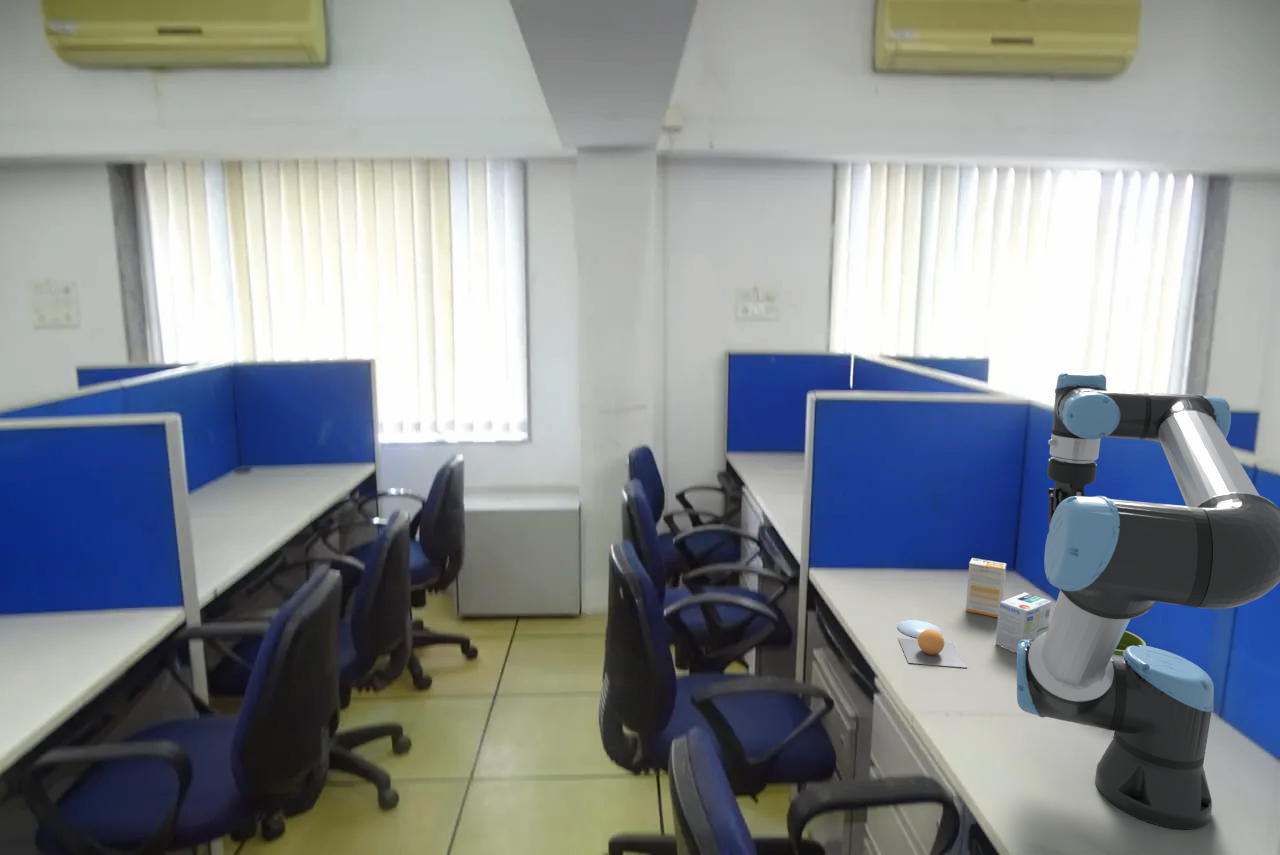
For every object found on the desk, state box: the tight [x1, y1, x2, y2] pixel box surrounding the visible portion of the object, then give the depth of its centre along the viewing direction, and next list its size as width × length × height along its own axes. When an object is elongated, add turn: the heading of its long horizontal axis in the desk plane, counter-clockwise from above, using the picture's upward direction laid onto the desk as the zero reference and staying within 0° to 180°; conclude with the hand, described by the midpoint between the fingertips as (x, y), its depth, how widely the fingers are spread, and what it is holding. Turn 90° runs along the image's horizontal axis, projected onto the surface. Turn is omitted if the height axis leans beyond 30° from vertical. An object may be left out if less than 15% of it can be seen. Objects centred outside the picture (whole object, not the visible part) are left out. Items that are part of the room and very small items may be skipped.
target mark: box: [898, 637, 968, 669], centre depth 164 cm, size 12×12×1 cm
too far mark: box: [897, 619, 943, 639], centre depth 176 cm, size 10×10×1 cm
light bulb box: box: [995, 591, 1052, 654], centre depth 168 cm, size 11×7×11 cm, turn 123°
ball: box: [917, 629, 945, 655], centre depth 163 cm, size 6×6×6 cm
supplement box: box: [965, 557, 1007, 618], centre depth 185 cm, size 8×5×13 cm, turn 58°
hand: (1058, 584), depth 135 cm, fingers closed
